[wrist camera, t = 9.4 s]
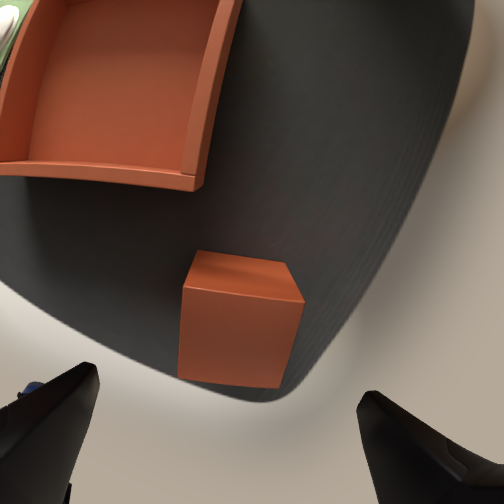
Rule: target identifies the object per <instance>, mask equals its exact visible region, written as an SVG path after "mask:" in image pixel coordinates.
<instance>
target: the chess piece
mask: <svg viewBox="0 0 504 504" xmlns="http://www.w3.org/2000/svg"><path fill="white" fill-rule="evenodd" d="M18 17H19V10H18V8H17V7H13V6H10V5H7V6H4V7H2V8H0V51H1V50H2V49H3V47H4V46H5V44H6V43H7V41H8V40H9V38H10V37H11V35H12V33H13V31H14V29H15V27H16V24H17V21H18Z"/></svg>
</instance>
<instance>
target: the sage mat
mask: <svg viewBox="0 0 504 504" xmlns="http://www.w3.org/2000/svg"><path fill="white" fill-rule="evenodd" d="M33 1H34V0H0V8H2V7H4V6H7V5H10V6H13V7H17V8H18V10H19V17H18V21H17V24H16V27H15V29H14V31H13V33H12V35H11V37H10V38H9V40H8V41H7V43H6V44H5V46H4V47H3V49H2V50H1V51H0V72H2V69H3V67H4V64H5V62H6V60H7V57H8V55H9V53H10V51H11V48H12V46H13V44H14V42H15V40H16V38H17V36H18V34H19V32H20V29H21V27H22V25H23V22H24V20H25V18H26V16H27V13H28V11H29V9H30V7H31V5H32V3H33Z"/></svg>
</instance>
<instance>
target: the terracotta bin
mask: <svg viewBox="0 0 504 504" xmlns="http://www.w3.org/2000/svg"><path fill="white" fill-rule="evenodd" d="M242 2H243V0H34V1H33V3H32V5H31V7H30V9H29V11H28V13H27V16H26V18H25V20H24V22H23V25H22V27H21V29H20V32H19V34H18V37H17V39H16V42H15V44H14V47H13V50H12V53H11V56H10V59H9V62H8V65H7V68H6V71H5V75H4V78H3V82H2V86H1V89H0V176H28V177H47V178H63V179H76V180H89V181H100V182H111V183H121V184H130V185H139V186H148V187H156V188H164V189H172V190H180V191H187V192H194V191H195V190H197V189H198V188H200V187H201V186H203V183H204V177H205V170H206V164H207V159H208V153H209V147H210V142H211V136H212V131H213V126H214V120H215V115H216V110H217V105H218V101H219V96H220V91H221V86H222V82H223V77H224V73H225V69H226V64H227V60H228V56H229V52H230V48H231V43H232V40H233V36H234V32H235V28H236V24H237V20H238V17H239V13H240V9H241V6H242Z"/></svg>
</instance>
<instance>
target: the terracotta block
mask: <svg viewBox="0 0 504 504" xmlns="http://www.w3.org/2000/svg"><path fill="white" fill-rule="evenodd" d="M304 306H305V301H304V299H303V297H302V295H301V293H300V291H299V289H298V287H297V285H296V283H295V281H294V279H293V278H292V276H291V274H290V272H289V270H288V268H287V266H286V264H285V263H284V262H277V261H271V260H264V259H257V258H250V257H244V256H237V255H230V254H223V253H217V252H210V251H204V250H197V252H196V255H195V257H194V260H193V262H192V265H191V267H190V270H189V273H188V275H187V278H186V280H185V283H184V286H183V294H182V306H181V319H180V334H179V352H178V376H177V377H178V378H180V379H186V380H193V381H200V382H207V383H215V384H224V385H234V386H245V387H258V388H276V389H278V388H279V387H280V384H281V381H282V378H283V375H284V372H285V369H286V366H287V363H288V359H289V356H290V353H291V350H292V347H293V343H294V340H295V337H296V334H297V330H298V327H299V324H300V320H301V317H302V313H303V310H304Z"/></svg>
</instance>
